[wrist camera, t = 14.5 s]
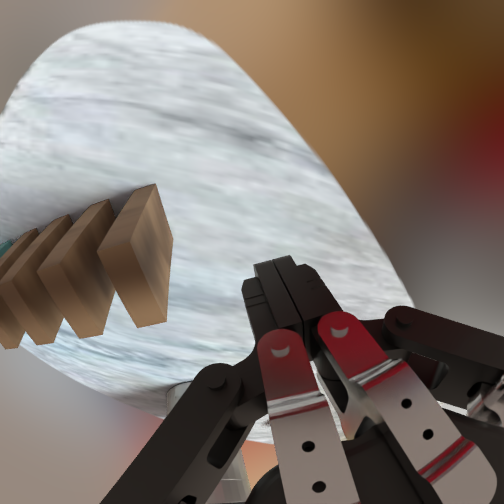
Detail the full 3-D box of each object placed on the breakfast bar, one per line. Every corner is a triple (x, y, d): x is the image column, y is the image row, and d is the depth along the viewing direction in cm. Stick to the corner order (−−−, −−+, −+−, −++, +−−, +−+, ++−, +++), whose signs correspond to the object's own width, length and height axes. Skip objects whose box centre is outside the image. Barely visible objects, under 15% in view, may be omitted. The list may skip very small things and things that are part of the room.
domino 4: (173, 239, 22) (166, 321, 14) (153, 244, 22) (137, 327, 14) (155, 183, 20) (129, 241, 11) (134, 190, 19) (96, 251, 11)
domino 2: (90, 262, 21) (53, 342, 13) (75, 267, 21) (36, 345, 13) (68, 214, 19) (11, 280, 10) (53, 220, 19) (-5, 286, 10)
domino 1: (57, 272, 21) (17, 347, 13) (45, 276, 21) (5, 349, 12) (36, 227, 18) (-21, 293, 10) (24, 233, 18) (-32, 297, 10)
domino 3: (128, 251, 22) (102, 334, 13) (111, 256, 22) (79, 338, 13) (108, 198, 19) (59, 263, 11) (90, 205, 19) (36, 271, 11)
